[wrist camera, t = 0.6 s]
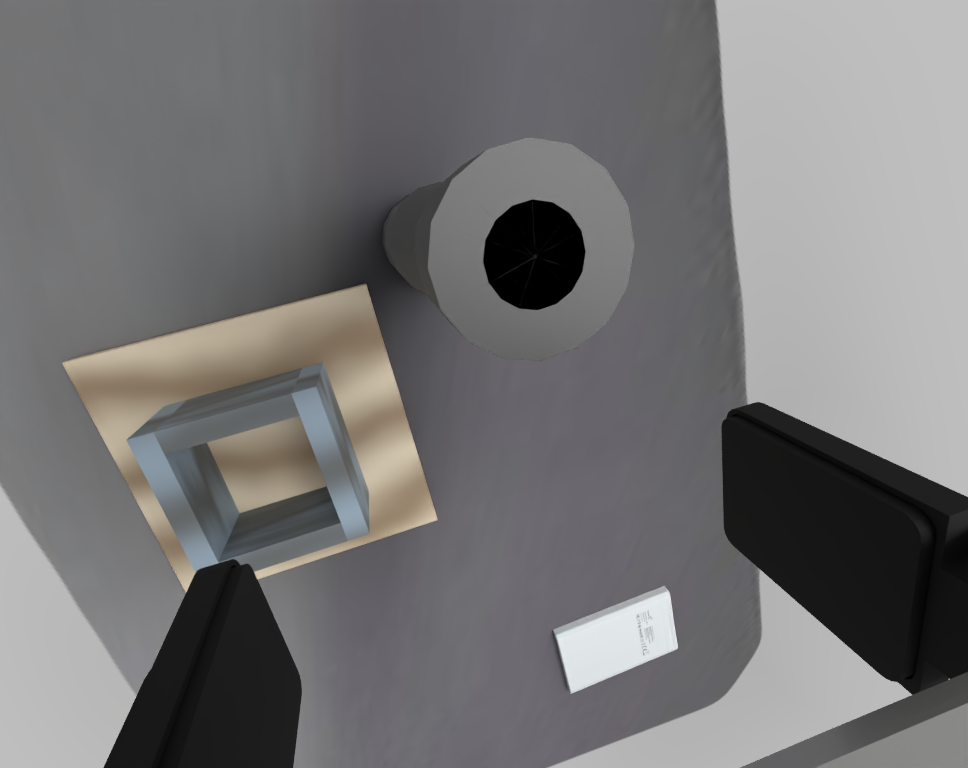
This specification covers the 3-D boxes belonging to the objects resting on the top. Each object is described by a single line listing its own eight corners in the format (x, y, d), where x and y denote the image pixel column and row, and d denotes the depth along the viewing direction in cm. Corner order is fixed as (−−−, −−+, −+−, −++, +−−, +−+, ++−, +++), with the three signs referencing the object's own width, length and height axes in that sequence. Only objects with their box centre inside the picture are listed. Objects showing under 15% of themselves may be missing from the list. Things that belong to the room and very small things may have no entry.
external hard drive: (550, 624, 51) (661, 581, 52) (565, 682, 53) (670, 640, 55) (556, 637, 49) (670, 592, 51) (571, 695, 52) (679, 651, 53)
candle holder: (409, 297, 37) (485, 410, 14) (365, 219, 35) (368, 200, 12) (481, 257, 38) (672, 302, 14) (442, 177, 35) (592, 78, 12)
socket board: (72, 358, 34) (-1, 390, 27) (366, 283, 36) (366, 295, 30) (195, 591, 40) (161, 663, 34) (435, 512, 43) (448, 564, 36)
